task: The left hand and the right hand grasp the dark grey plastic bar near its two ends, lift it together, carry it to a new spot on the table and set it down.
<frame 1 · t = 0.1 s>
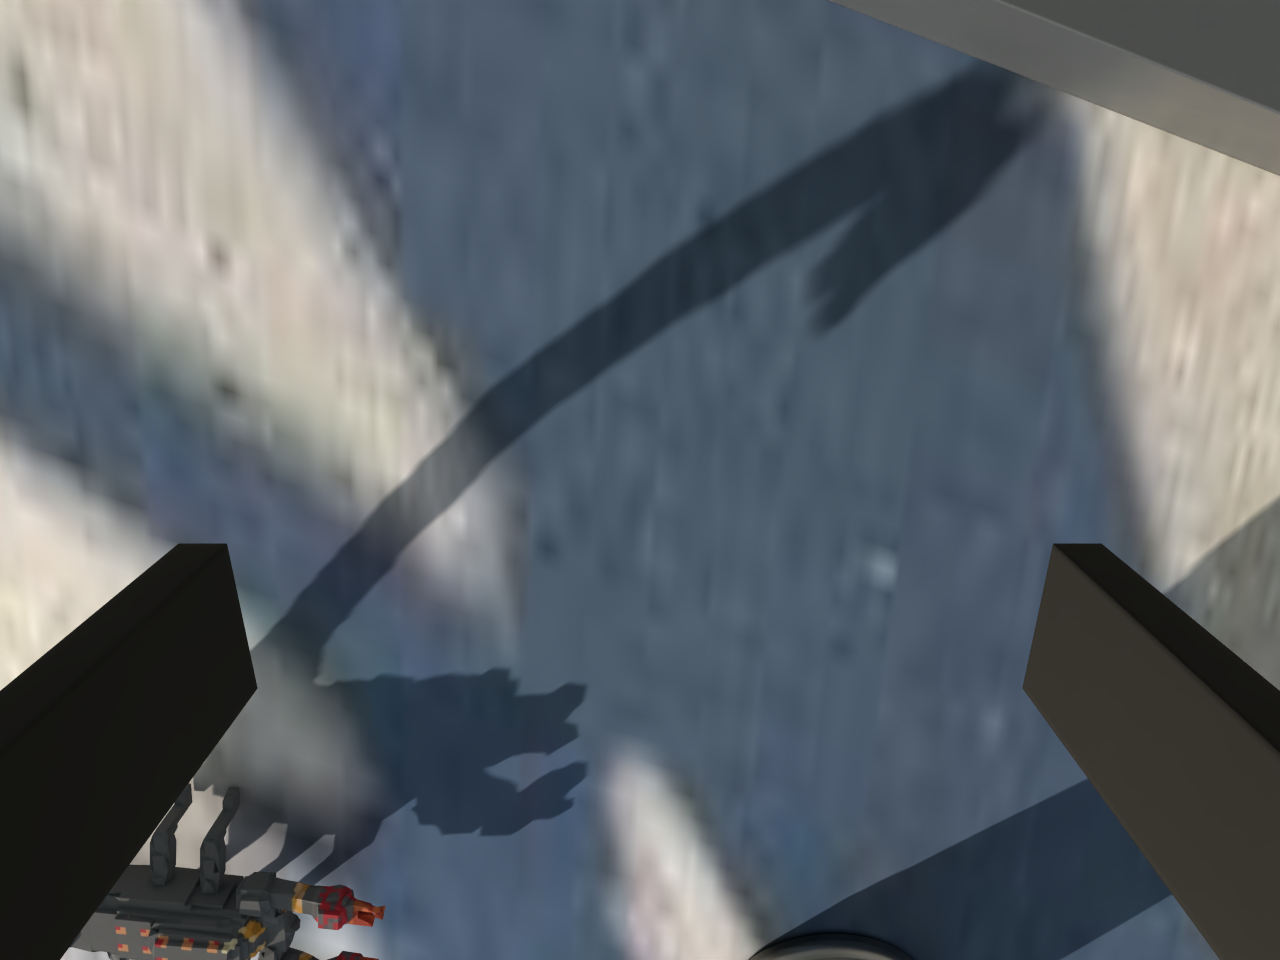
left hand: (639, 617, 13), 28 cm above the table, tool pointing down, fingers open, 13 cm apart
toy: (214, 869, 52), on the table
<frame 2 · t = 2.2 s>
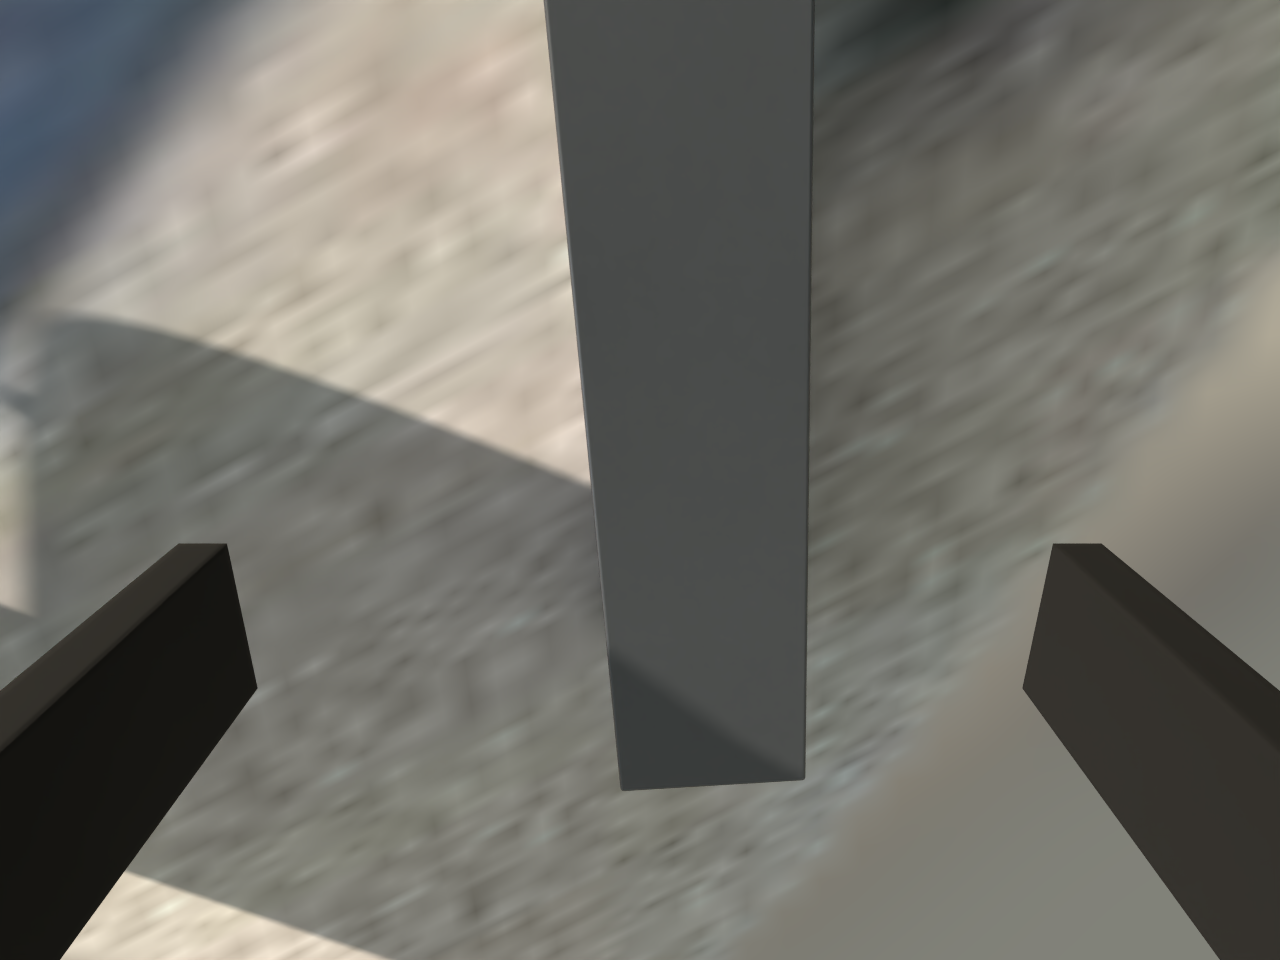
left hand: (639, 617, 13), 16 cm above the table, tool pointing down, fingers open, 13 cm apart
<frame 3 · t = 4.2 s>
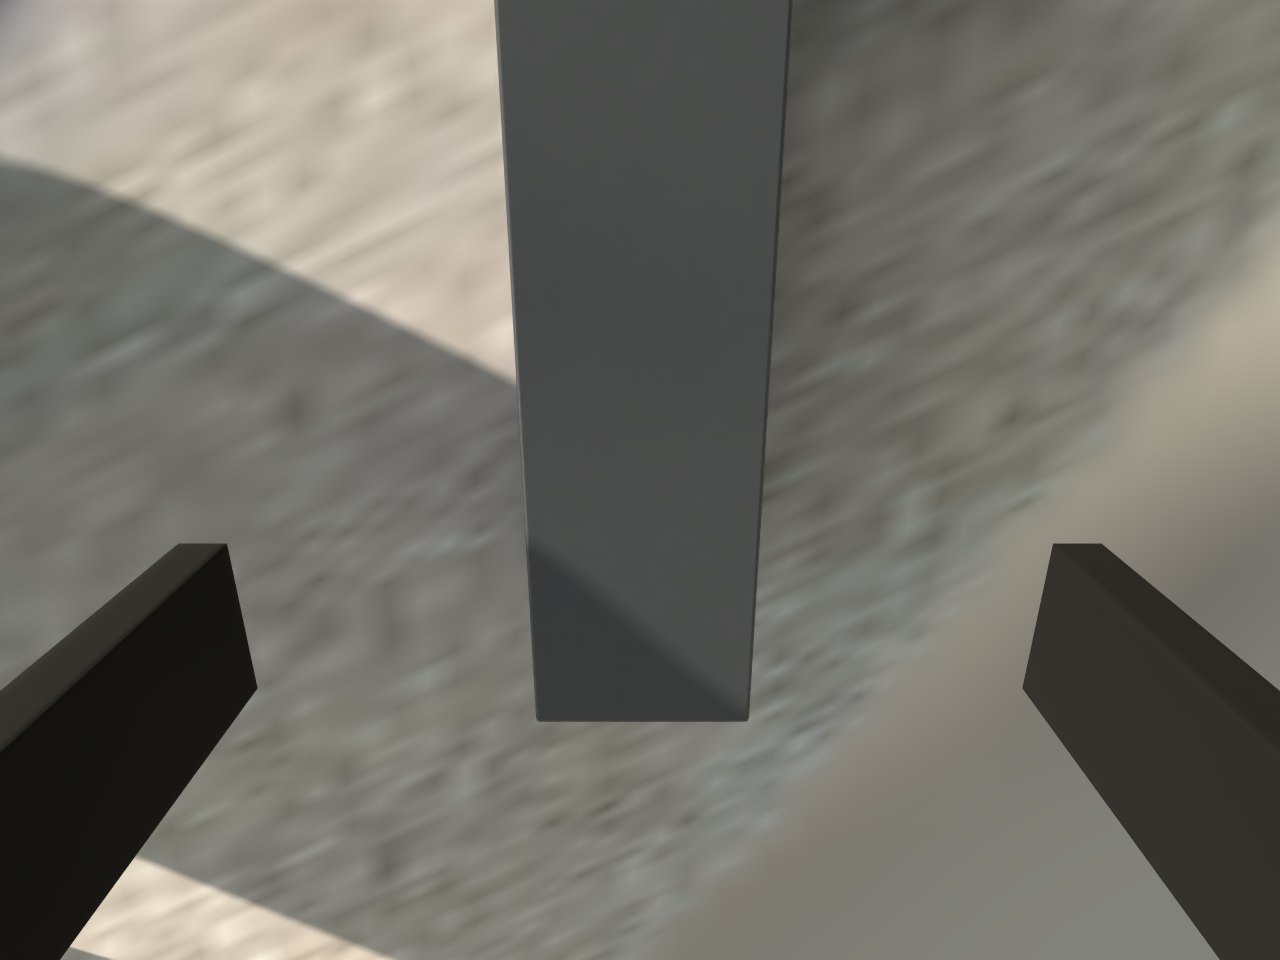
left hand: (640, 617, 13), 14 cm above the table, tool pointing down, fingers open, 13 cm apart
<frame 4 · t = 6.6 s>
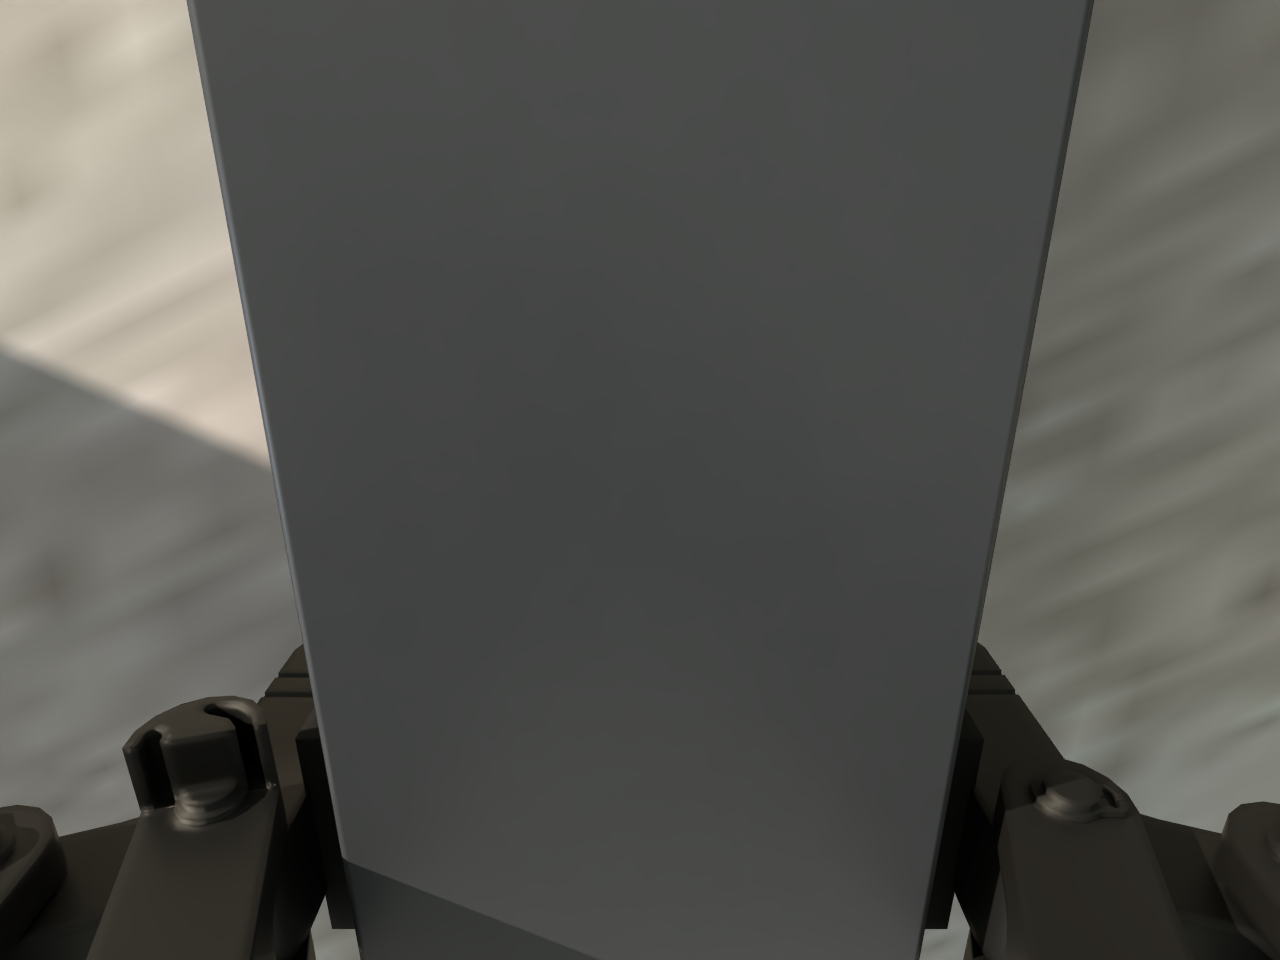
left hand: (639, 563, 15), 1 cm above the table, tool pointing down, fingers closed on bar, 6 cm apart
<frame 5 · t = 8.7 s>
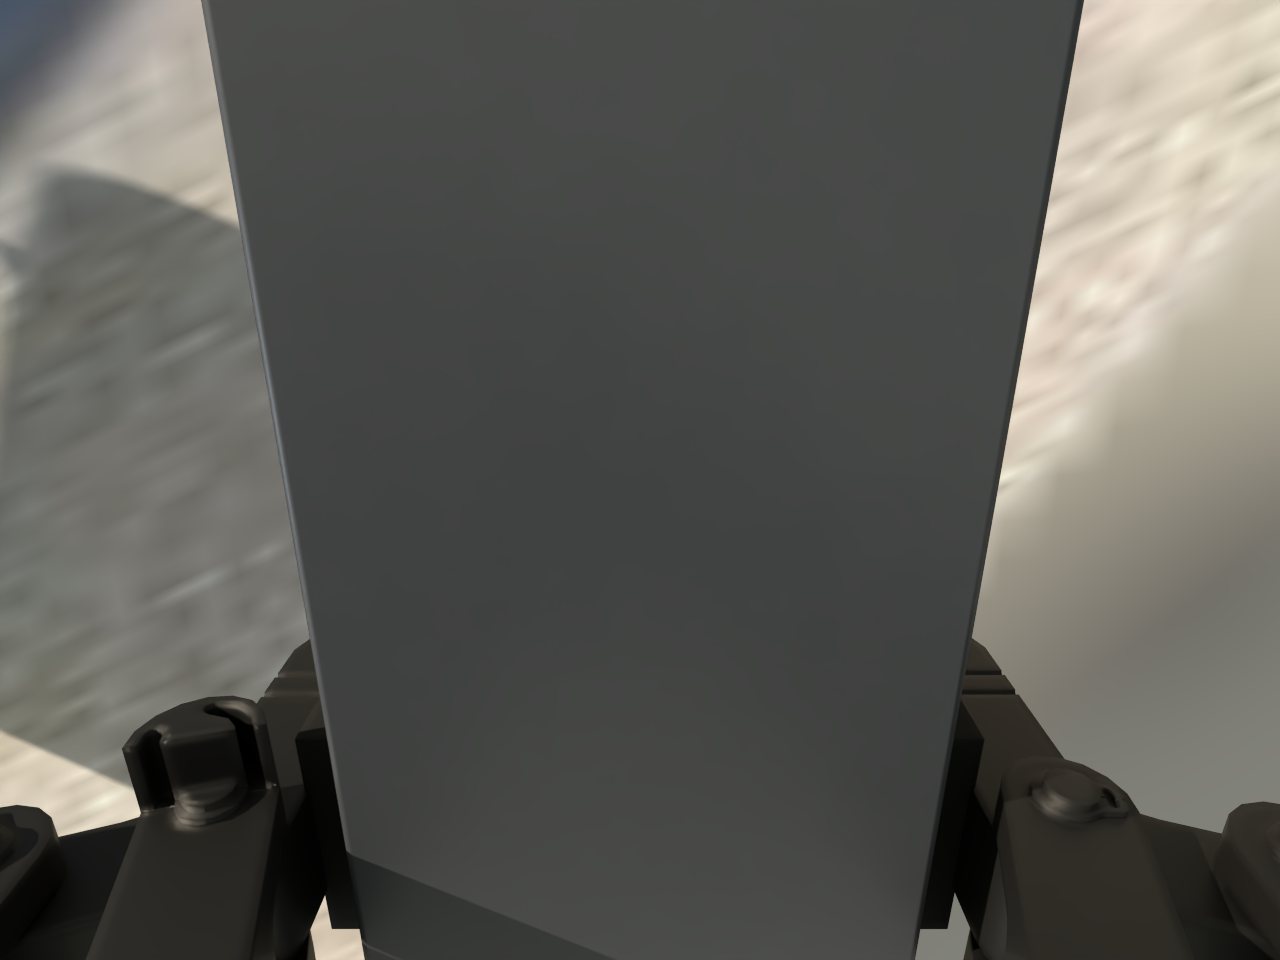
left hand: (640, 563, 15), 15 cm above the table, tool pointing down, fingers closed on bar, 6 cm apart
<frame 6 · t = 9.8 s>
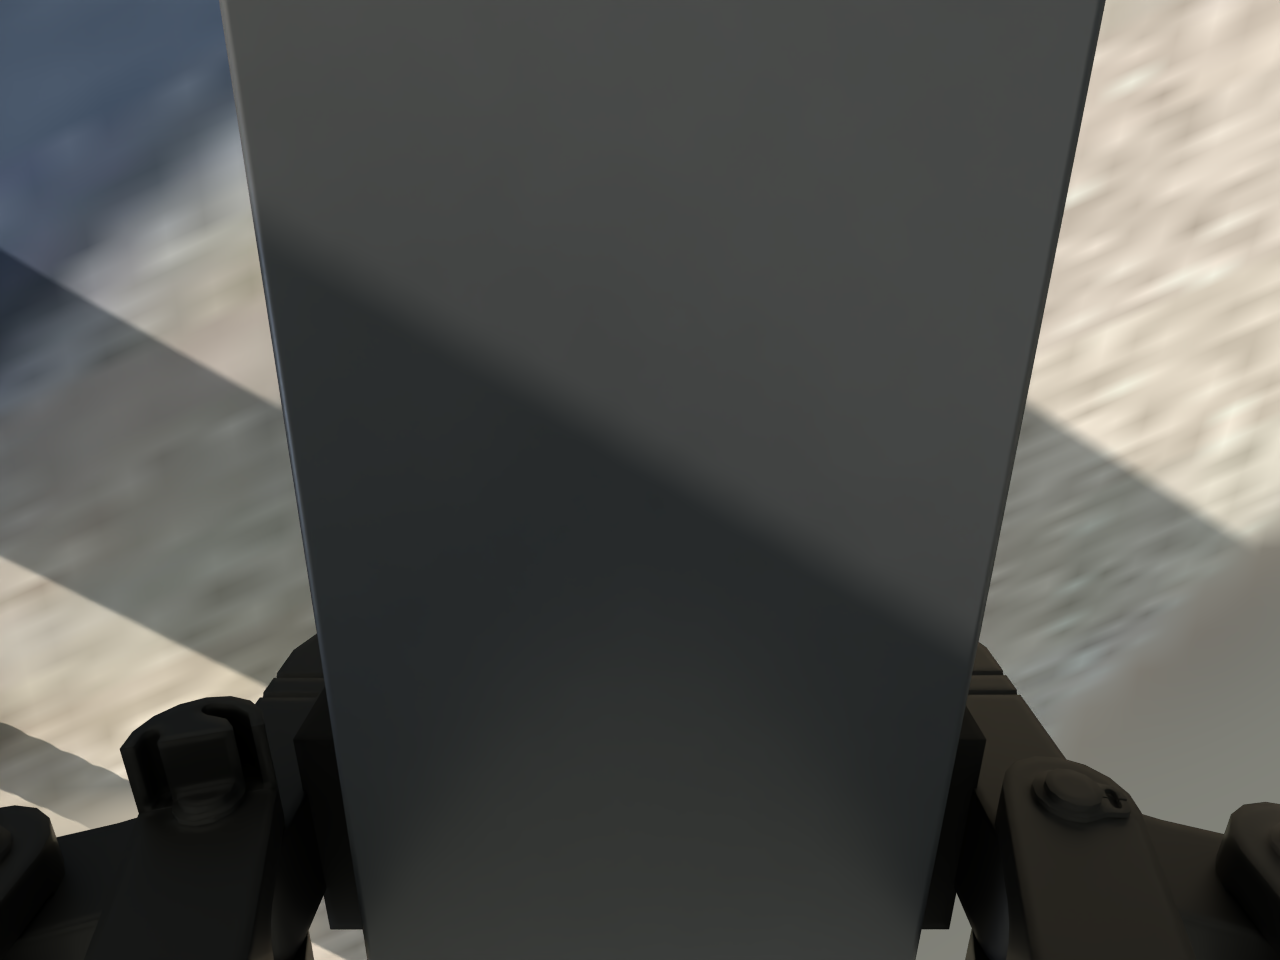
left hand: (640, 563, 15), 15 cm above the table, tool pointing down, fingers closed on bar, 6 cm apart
when the left hand's fingers open (2 cm above the table, at t = 13.4 s): bar drops 1 cm, held by the right hand.
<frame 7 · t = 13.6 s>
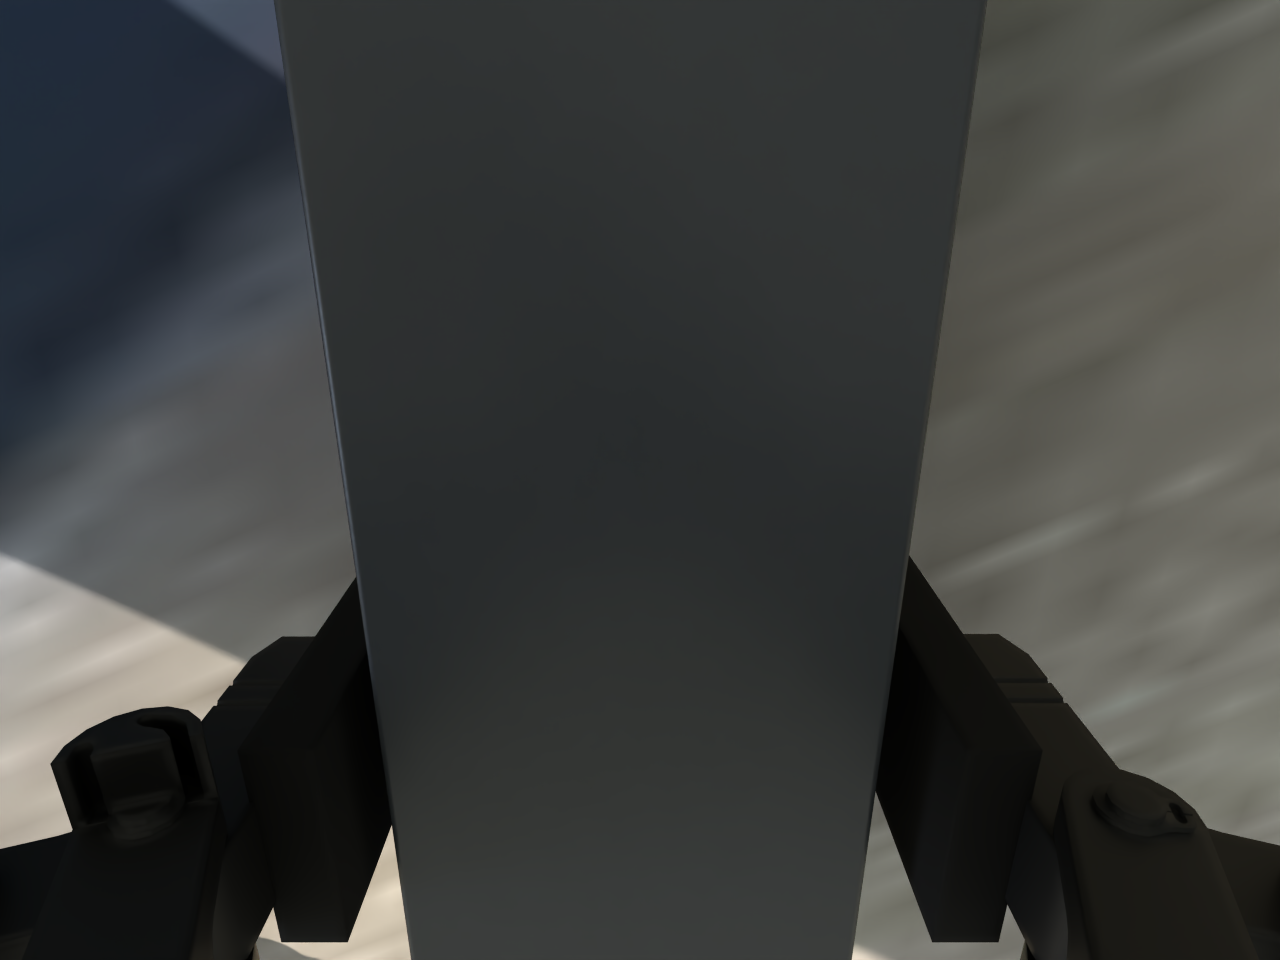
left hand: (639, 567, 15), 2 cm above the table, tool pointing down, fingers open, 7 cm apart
when the right hand's fingers open (4 cm above the table, at t = 13.7 s): bar stays where it is, on the table.
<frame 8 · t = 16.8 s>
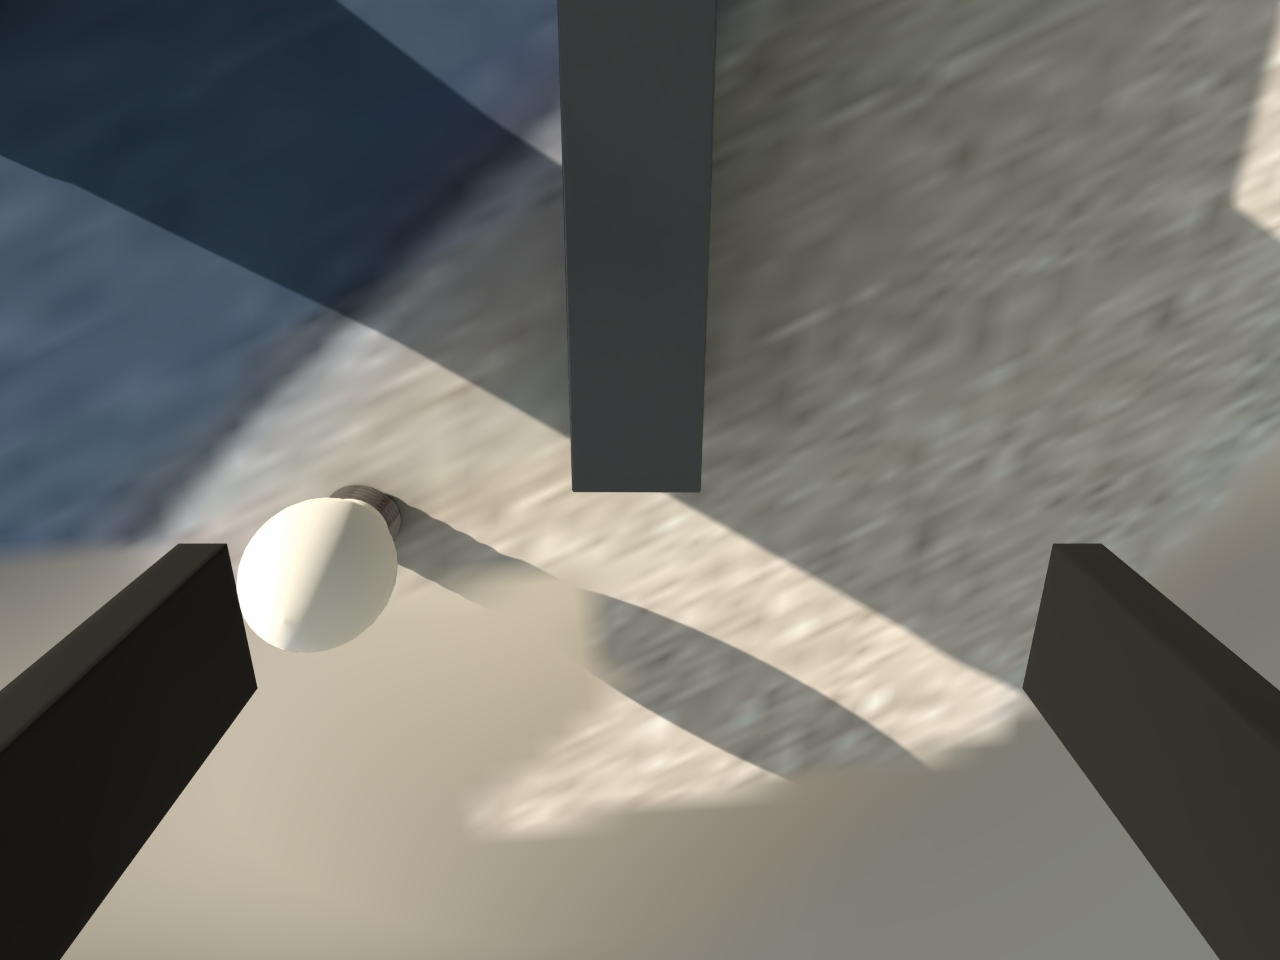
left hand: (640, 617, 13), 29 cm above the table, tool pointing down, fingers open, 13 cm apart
light bulb: (367, 513, 44), on the table
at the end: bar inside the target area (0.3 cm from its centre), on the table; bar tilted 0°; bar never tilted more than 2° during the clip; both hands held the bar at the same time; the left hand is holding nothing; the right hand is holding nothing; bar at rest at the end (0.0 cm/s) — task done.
